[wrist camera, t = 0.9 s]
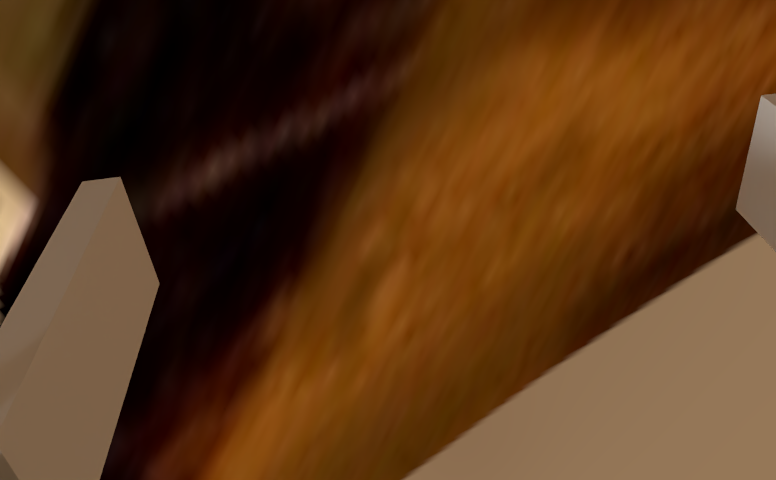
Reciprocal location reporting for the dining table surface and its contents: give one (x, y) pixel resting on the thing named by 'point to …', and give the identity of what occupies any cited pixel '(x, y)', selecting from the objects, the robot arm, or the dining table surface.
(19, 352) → the robot arm
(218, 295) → the dining table surface
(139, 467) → the dining table surface
